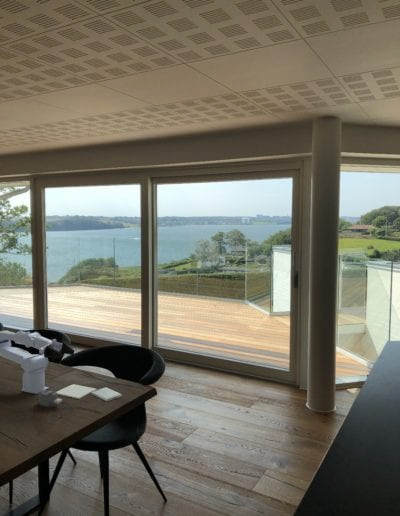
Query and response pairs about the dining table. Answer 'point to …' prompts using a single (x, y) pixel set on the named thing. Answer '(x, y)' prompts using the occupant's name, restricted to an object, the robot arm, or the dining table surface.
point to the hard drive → (106, 394)
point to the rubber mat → (75, 391)
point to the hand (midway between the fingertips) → (67, 354)
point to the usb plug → (48, 398)
